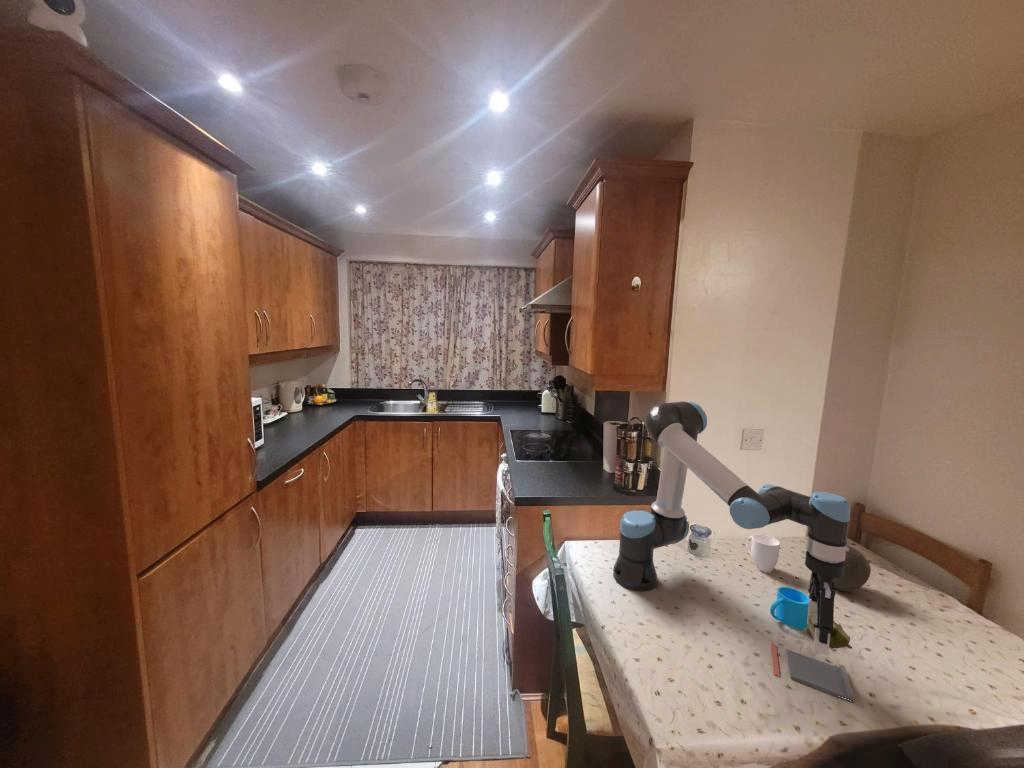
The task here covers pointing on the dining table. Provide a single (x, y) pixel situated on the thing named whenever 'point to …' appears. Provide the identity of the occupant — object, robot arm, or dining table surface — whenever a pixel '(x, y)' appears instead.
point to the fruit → (836, 640)
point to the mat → (820, 675)
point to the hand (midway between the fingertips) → (817, 638)
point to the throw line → (775, 660)
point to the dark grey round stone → (853, 571)
